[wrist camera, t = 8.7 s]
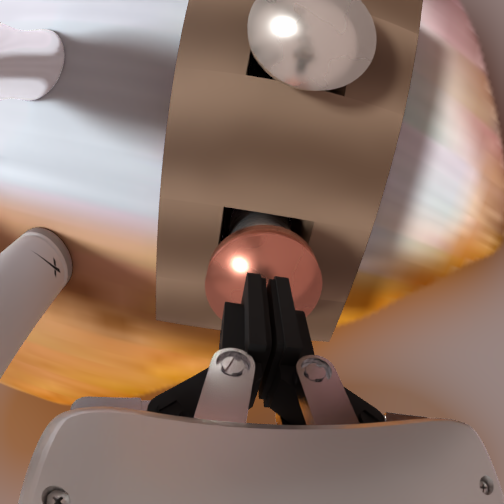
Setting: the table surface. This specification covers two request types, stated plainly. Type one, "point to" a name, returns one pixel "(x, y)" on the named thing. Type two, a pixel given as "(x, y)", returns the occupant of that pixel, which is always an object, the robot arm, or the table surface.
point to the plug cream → (312, 41)
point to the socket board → (275, 155)
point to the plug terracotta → (262, 261)
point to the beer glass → (29, 62)
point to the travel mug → (29, 286)
